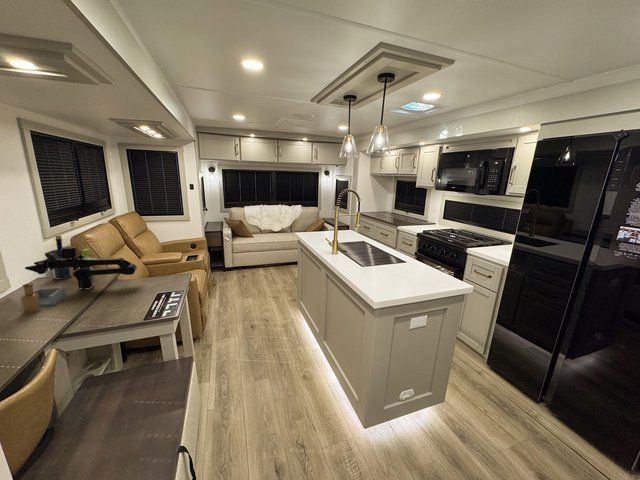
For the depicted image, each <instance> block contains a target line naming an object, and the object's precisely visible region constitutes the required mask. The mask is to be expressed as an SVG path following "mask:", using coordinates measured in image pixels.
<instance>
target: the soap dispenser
mask: <svg viewBox="0 0 640 480" xmlns="http://www.w3.org/2000/svg"><path fill="white" fill-rule="evenodd" d="M91 250H92V248H84V249H82V250H81V252H82V254H81V255H82V256H84V257H90V255H89V253H88V251H91ZM91 268H93V266H91Z"/></svg>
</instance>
